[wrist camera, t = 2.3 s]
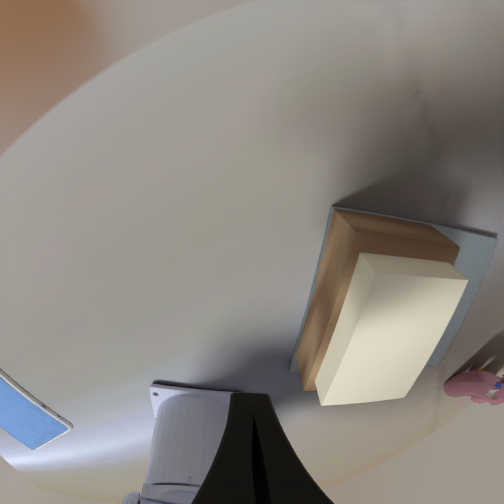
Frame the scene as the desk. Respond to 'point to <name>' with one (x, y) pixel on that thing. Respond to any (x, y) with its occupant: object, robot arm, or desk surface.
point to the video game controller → (477, 386)
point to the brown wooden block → (342, 268)
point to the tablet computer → (28, 416)
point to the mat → (467, 263)
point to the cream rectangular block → (387, 328)
